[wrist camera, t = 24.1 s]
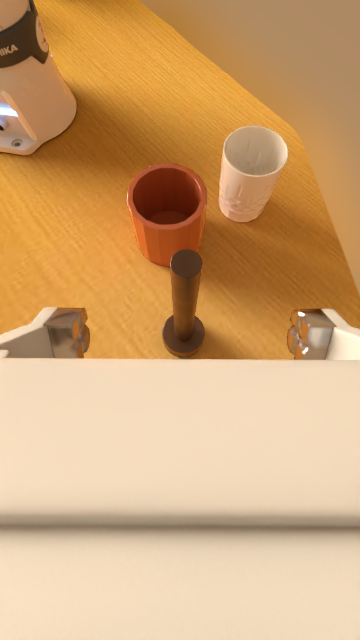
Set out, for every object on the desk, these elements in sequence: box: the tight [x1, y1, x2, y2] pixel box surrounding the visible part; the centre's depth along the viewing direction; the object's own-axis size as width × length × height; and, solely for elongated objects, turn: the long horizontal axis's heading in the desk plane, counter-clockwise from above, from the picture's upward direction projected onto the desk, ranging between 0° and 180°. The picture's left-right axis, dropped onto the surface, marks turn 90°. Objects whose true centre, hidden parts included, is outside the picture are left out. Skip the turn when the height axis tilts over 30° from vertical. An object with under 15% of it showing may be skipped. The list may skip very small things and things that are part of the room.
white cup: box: [218, 125, 289, 222], centre depth 43 cm, size 8×8×10 cm
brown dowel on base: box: [162, 249, 205, 357], centre depth 32 cm, size 5×5×21 cm
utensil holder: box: [127, 164, 207, 266], centre depth 42 cm, size 9×9×9 cm
